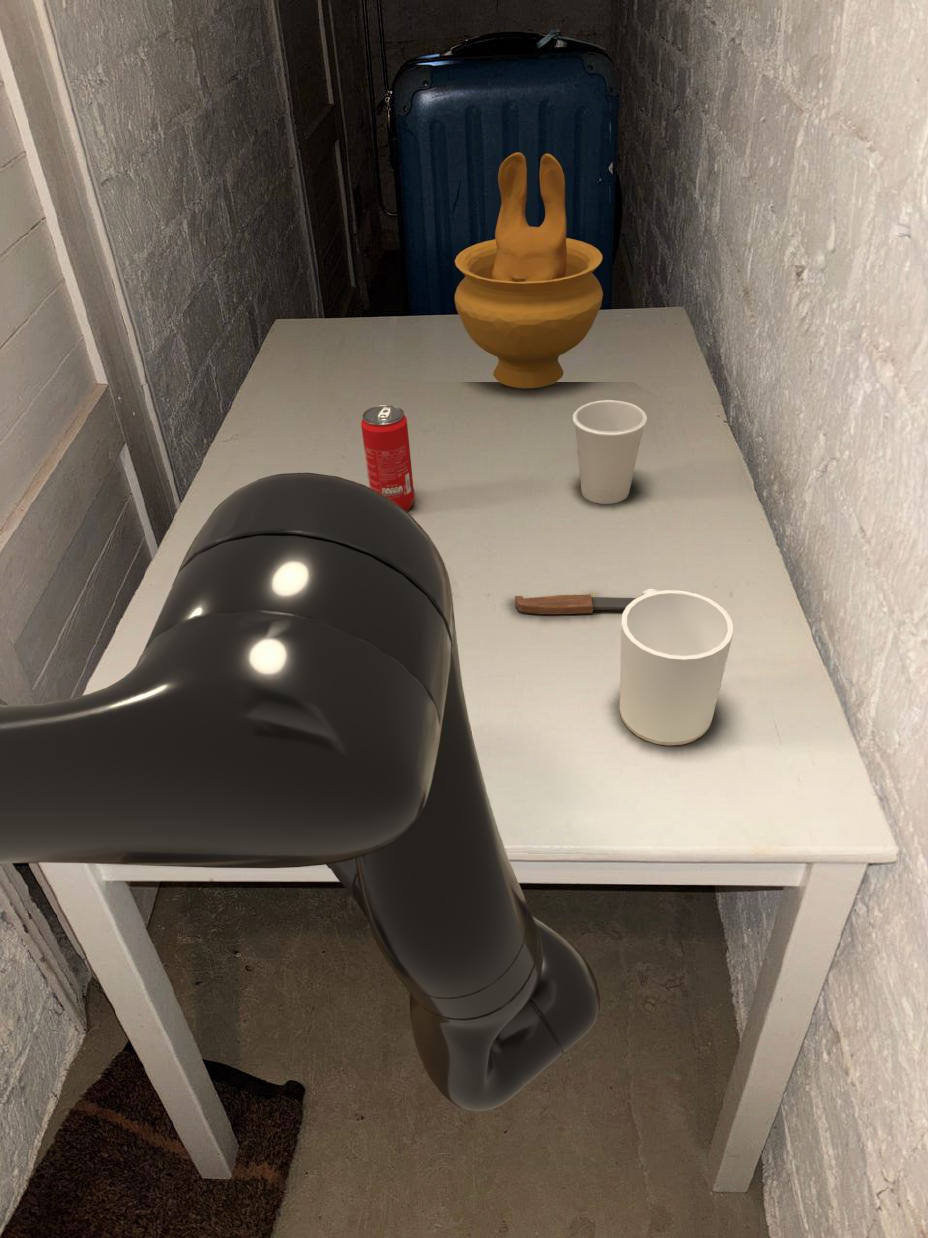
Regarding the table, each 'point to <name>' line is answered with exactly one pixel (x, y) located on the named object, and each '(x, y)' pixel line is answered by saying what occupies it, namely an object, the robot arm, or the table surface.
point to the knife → (569, 604)
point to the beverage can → (388, 453)
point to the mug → (672, 664)
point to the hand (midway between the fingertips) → (271, 688)
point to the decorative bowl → (529, 282)
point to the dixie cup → (607, 448)
